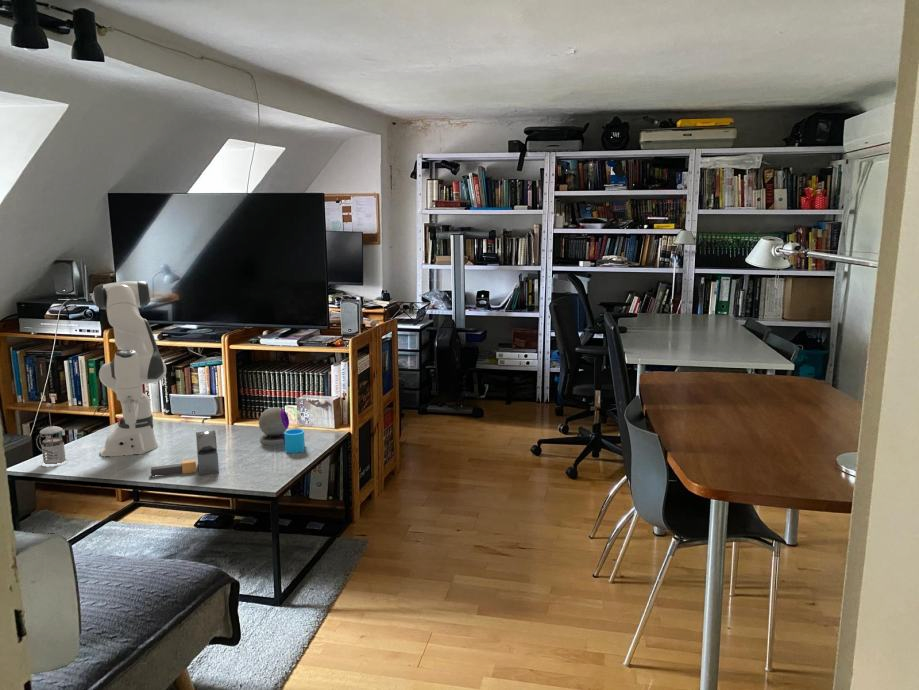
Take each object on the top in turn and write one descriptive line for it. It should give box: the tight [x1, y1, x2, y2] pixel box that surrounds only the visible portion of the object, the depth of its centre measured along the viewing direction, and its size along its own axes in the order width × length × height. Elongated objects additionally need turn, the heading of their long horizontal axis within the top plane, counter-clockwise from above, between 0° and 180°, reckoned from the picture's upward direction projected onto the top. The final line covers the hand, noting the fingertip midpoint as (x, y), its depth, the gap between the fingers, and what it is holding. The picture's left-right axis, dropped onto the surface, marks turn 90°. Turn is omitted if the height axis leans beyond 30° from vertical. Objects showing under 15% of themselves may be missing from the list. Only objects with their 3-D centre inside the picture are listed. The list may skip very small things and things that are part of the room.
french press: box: [35, 402, 68, 464], centre depth 276 cm, size 10×12×25 cm
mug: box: [284, 428, 306, 454], centre depth 294 cm, size 12×8×8 cm
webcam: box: [258, 406, 290, 446], centre depth 305 cm, size 13×13×15 cm
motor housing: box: [195, 429, 220, 476], centre depth 270 cm, size 7×14×15 cm, turn 23°
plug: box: [150, 458, 197, 477], centre depth 267 cm, size 16×4×4 cm, turn 113°
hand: (132, 429), depth 259 cm, fingers open, 4 cm apart
